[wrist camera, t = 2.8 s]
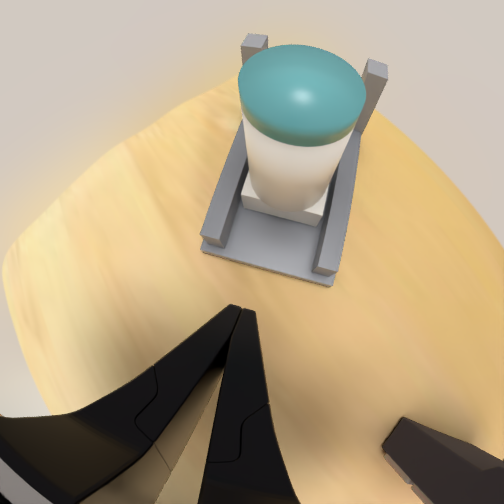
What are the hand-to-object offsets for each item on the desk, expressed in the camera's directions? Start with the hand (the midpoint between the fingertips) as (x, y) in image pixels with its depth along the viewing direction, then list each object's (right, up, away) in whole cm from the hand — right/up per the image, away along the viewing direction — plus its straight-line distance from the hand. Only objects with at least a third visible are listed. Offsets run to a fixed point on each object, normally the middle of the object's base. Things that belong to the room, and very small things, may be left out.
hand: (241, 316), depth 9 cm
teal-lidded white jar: (+3, +6, +10) cm, 12 cm away
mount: (+3, +6, +11) cm, 13 cm away
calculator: (+15, -14, +7) cm, 22 cm away
